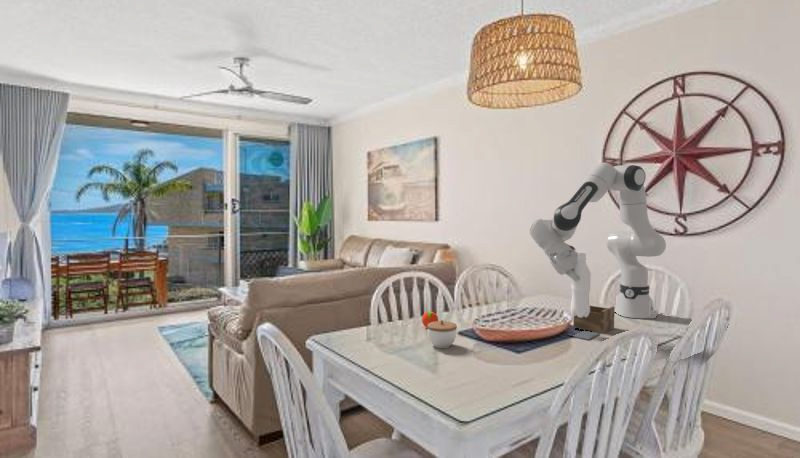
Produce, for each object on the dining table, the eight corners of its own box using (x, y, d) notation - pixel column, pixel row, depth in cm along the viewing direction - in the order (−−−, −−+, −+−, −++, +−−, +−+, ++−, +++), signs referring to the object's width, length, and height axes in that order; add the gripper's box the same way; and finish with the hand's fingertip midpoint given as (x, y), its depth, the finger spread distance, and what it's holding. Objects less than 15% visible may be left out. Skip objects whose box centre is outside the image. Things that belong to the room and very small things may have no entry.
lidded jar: (455, 351, 159) (455, 324, 159) (425, 349, 161) (425, 323, 161) (457, 342, 170) (457, 317, 169) (429, 340, 172) (429, 316, 172)
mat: (572, 329, 187) (572, 328, 187) (599, 334, 179) (599, 333, 179) (560, 334, 179) (560, 333, 179) (588, 340, 172) (588, 339, 172)
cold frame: (585, 323, 197) (585, 302, 197) (614, 328, 189) (614, 306, 188) (573, 328, 189) (573, 307, 188) (602, 333, 180) (603, 311, 180)
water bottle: (592, 318, 176) (594, 254, 174) (574, 318, 176) (575, 254, 174) (585, 314, 183) (587, 252, 181) (567, 313, 183) (569, 252, 182)
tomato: (437, 331, 185) (437, 314, 185) (420, 330, 186) (420, 313, 186) (438, 326, 193) (438, 309, 193) (422, 325, 194) (422, 309, 194)
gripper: (552, 249, 175) (576, 277, 169) (575, 246, 190) (598, 271, 183) (541, 259, 179) (565, 287, 172) (564, 256, 193) (587, 281, 187)
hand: (582, 279), depth 178 cm, fingers closed on water bottle, 7 cm apart
